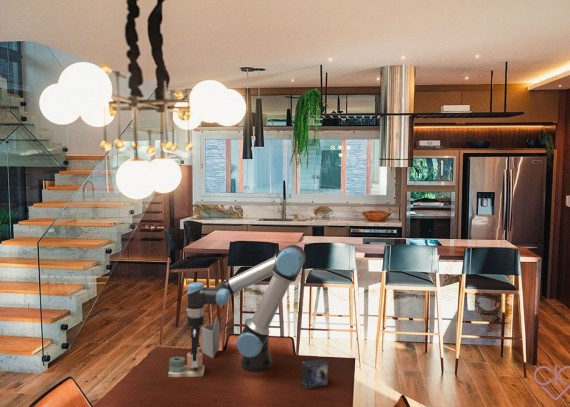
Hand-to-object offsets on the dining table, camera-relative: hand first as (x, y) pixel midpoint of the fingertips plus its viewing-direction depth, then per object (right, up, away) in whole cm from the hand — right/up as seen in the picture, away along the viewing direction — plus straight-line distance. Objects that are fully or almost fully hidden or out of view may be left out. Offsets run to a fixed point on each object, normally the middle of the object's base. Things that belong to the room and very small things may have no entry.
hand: (195, 363), depth 245 cm
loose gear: (0, 0, 0) cm, 0 cm away
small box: (+55, -6, -13) cm, 57 cm away
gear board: (-4, -4, 0) cm, 6 cm away
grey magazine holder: (+3, -3, +28) cm, 28 cm away
